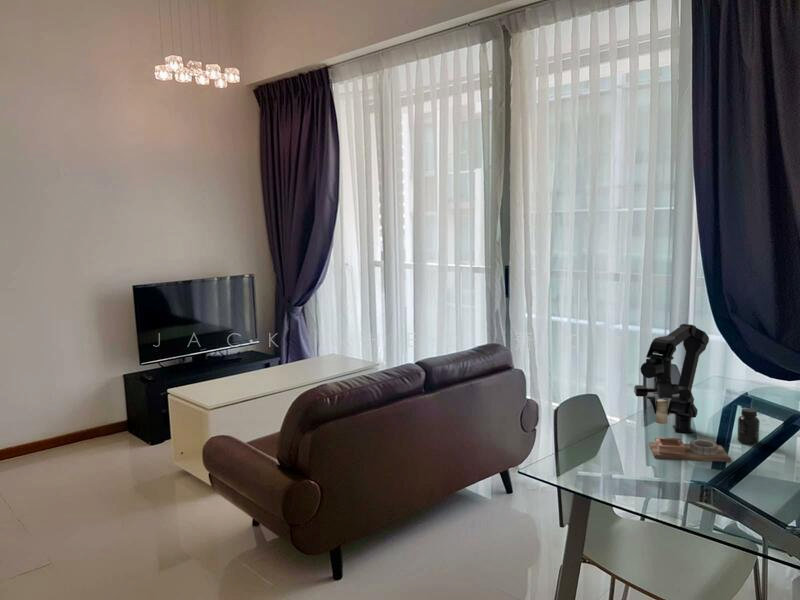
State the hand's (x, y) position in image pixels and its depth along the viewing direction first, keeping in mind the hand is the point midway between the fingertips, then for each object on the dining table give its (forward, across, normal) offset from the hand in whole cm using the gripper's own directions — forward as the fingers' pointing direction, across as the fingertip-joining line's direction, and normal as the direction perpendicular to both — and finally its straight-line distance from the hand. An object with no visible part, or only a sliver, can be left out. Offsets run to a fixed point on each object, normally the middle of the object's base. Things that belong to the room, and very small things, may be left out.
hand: (661, 414), depth 227 cm
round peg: (+3, 0, 0) cm, 3 cm away
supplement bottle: (+10, +30, +3) cm, 32 cm away
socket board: (+10, +7, -11) cm, 17 cm away
